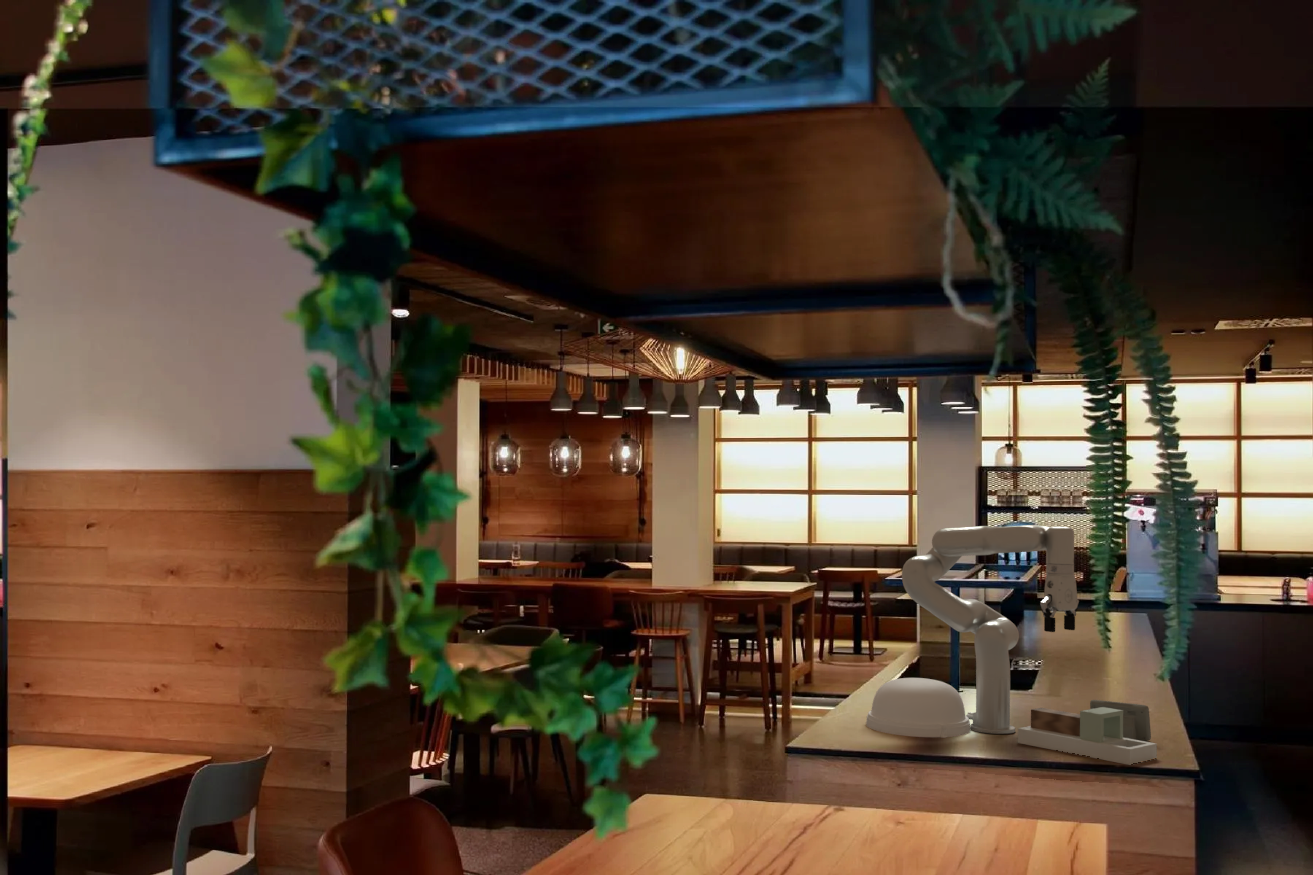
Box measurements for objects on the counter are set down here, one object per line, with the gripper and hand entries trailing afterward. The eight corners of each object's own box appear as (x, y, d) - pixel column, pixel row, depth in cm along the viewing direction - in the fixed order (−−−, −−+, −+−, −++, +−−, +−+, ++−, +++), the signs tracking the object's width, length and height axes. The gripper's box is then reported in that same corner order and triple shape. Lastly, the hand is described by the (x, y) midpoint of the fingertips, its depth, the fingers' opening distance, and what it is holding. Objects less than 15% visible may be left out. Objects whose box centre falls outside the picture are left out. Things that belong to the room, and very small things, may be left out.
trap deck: (1017, 742, 343) (1017, 728, 343) (1044, 737, 351) (1044, 723, 351) (1130, 764, 317) (1130, 749, 317) (1156, 758, 325) (1156, 743, 325)
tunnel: (1079, 738, 329) (1080, 710, 330) (1102, 734, 336) (1102, 706, 337) (1100, 742, 325) (1100, 714, 325) (1122, 738, 332) (1123, 710, 332)
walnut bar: (1030, 727, 344) (1030, 709, 345) (1041, 725, 348) (1041, 707, 348) (1079, 736, 333) (1079, 717, 333) (1089, 734, 336) (1089, 715, 336)
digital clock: (1154, 741, 349) (1154, 703, 349) (1140, 745, 342) (1140, 707, 343) (1098, 733, 360) (1099, 696, 361) (1084, 736, 354) (1084, 699, 354)
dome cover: (847, 719, 375) (848, 672, 375) (936, 716, 383) (937, 670, 384) (897, 740, 344) (897, 689, 345) (992, 736, 352) (992, 686, 353)
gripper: (1054, 571, 344) (1053, 633, 343) (1088, 570, 355) (1088, 630, 354) (1030, 570, 350) (1030, 631, 349) (1065, 568, 361) (1065, 627, 360)
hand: (1059, 630), depth 351 cm, fingers open, 9 cm apart
